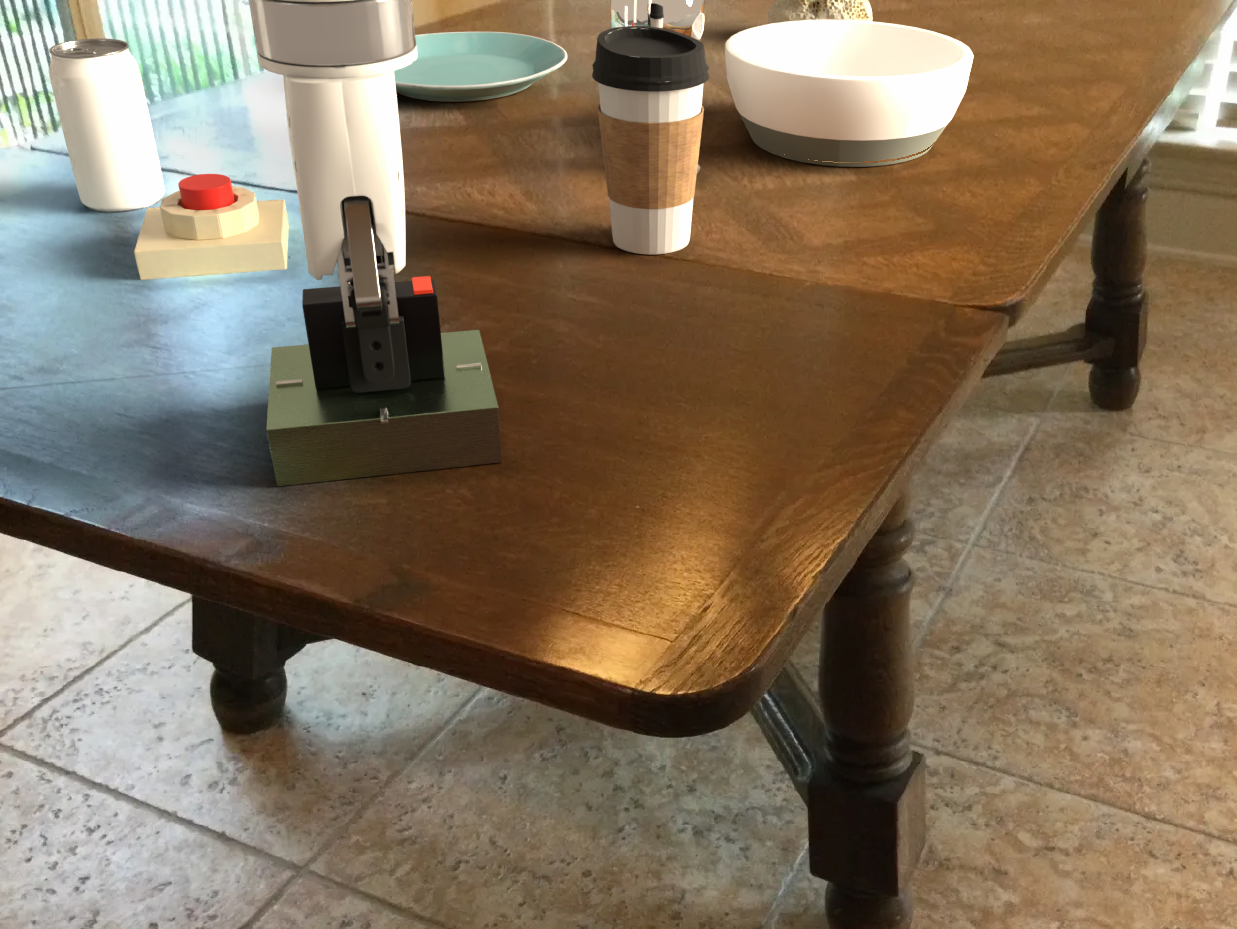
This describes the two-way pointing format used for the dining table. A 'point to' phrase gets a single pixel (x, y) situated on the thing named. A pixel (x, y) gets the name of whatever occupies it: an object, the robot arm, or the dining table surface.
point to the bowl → (845, 88)
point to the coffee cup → (650, 133)
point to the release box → (213, 238)
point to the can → (106, 124)
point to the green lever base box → (382, 419)
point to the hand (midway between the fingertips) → (379, 368)
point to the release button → (206, 192)
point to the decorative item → (819, 10)
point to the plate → (476, 65)
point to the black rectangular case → (412, 304)
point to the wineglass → (661, 17)
